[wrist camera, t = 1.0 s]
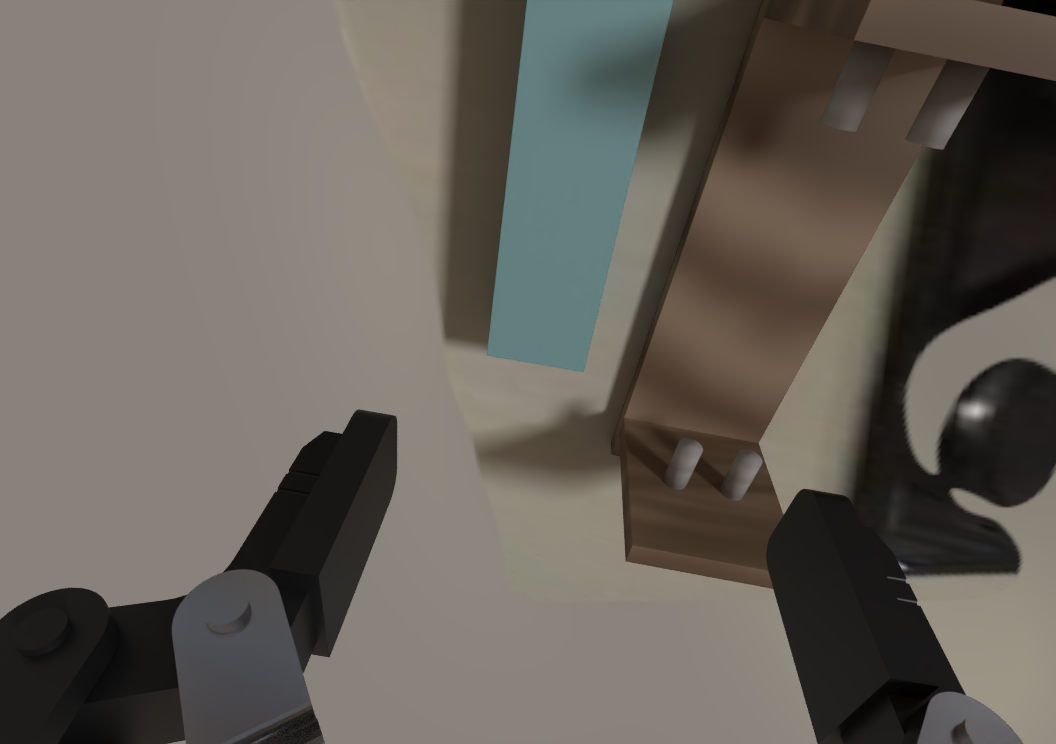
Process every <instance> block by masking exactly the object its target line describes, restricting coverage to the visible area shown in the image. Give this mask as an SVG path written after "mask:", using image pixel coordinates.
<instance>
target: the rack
mask: <svg viewBox="0 0 1056 744" xmlns="http://www.w3.org/2000/svg"><path fill="white" fill-rule="evenodd" d="M1002 2H1003V0H763V1H762V4H761V7H760V10H759V12H758V15H757V18H756V21H755V24H754V27H753V30H752V33H751V36H750V39H749V42H748V45H747V48H746V50H745V53H744V56H743V59H742V62H741V65H740V68H739V71H738V74H737V77H736V80H735V83H734V86H733V88H732V91H731V94H730V97H729V100H728V103H727V106H726V109H725V112H724V115H723V118H722V121H721V124H720V126H719V129H718V132H717V135H716V138H715V141H714V144H713V147H712V150H711V153H710V156H709V159H708V162H707V164H706V167H705V170H704V173H703V176H702V179H701V182H700V185H699V188H698V191H697V194H696V197H695V199H694V202H693V205H692V208H691V211H690V214H689V217H688V220H687V223H686V226H685V229H684V232H683V235H682V237H681V240H680V243H679V246H678V249H677V252H676V255H675V258H674V261H673V264H672V267H671V270H670V273H669V275H668V278H667V281H666V284H665V287H664V290H663V293H662V296H661V299H660V302H659V305H658V308H657V311H656V313H655V316H654V319H653V322H652V325H651V328H650V331H649V334H648V337H647V340H646V343H645V346H644V349H643V351H642V354H641V357H640V360H639V363H638V366H637V369H636V372H635V375H634V378H633V381H632V384H631V387H630V389H629V392H628V395H627V398H626V401H625V404H624V407H623V410H622V413H621V416H620V419H619V422H618V425H617V427H616V430H615V433H614V436H613V439H612V442H611V454H612V455H617V456H620V462H621V481H622V500H623V519H624V538H625V557H626V561H627V562H632V563H638V564H643V565H648V566H654V567H659V568H664V569H670V570H675V571H681V572H686V573H691V574H697V575H702V576H707V577H713V578H718V579H724V580H729V581H734V582H740V583H745V584H750V585H756V586H761V587H767V588H772V589H773V586H772V582H771V579H770V575H769V572H768V568H767V562H766V551H767V545H768V541H769V538H770V536H771V534H772V533H773V531H774V530H775V528H776V526H777V525H778V523H779V522H780V520H781V519H782V517H783V512H782V509H781V507H780V504H779V501H778V498H777V495H776V492H775V489H774V487H773V484H772V481H771V478H770V475H769V472H768V469H767V467H766V464H765V461H764V458H763V455H762V452H761V449H760V446H759V444H758V443H759V441H760V439H761V438H762V436H763V434H764V432H765V430H766V428H767V427H768V425H769V423H770V421H771V419H772V418H773V416H774V414H775V412H776V410H777V409H778V407H779V405H780V403H781V401H782V400H783V398H784V396H785V394H786V392H787V391H788V389H789V387H790V385H791V383H792V381H793V380H794V378H795V376H796V374H797V372H798V371H799V369H800V367H801V365H802V363H803V362H804V360H805V358H806V356H807V354H808V353H809V351H810V349H811V347H812V345H813V344H814V342H815V340H816V338H817V336H818V335H819V333H820V331H821V329H822V327H823V325H824V324H825V322H826V320H827V318H828V316H829V315H830V313H831V311H832V309H833V307H834V306H835V304H836V302H837V300H838V298H839V297H840V295H841V293H842V291H843V289H844V288H845V286H846V284H847V282H848V280H849V278H850V277H851V275H852V273H853V271H854V269H855V268H856V266H857V264H858V262H859V260H860V259H861V257H862V255H863V253H864V251H865V250H866V248H867V246H868V244H869V242H870V241H871V239H872V237H873V235H874V233H875V232H876V230H877V228H878V226H879V224H880V222H881V221H882V219H883V217H884V215H885V213H886V212H887V210H888V208H889V206H890V204H891V203H892V201H893V199H894V197H895V195H896V194H897V192H898V190H899V188H900V186H901V185H902V183H903V181H904V179H905V177H906V175H907V174H908V172H909V170H910V168H911V166H912V165H913V163H914V161H915V159H916V157H917V156H918V154H919V152H920V150H921V148H922V147H923V146H926V147H930V148H935V149H944V147H945V145H946V143H947V142H948V140H949V138H950V136H951V135H952V133H953V131H954V130H955V128H956V126H957V124H958V123H959V121H960V119H961V117H962V116H963V114H964V112H965V110H966V109H967V107H968V105H969V103H970V102H971V100H972V98H973V97H974V95H975V93H976V91H977V90H978V88H979V86H980V84H981V83H982V81H983V79H984V77H985V76H986V74H987V72H988V70H989V69H990V68H995V69H1000V70H1005V71H1010V72H1015V73H1020V74H1025V75H1030V76H1034V77H1039V78H1044V79H1049V80H1054V81H1056V17H1054V16H1049V15H1044V14H1040V13H1035V12H1030V11H1025V10H1020V9H1015V8H1010V7H1005V6H1001V4H1002Z"/></svg>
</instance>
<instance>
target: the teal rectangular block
mask: <svg viewBox="0 0 1056 744" xmlns="http://www.w3.org/2000/svg"><path fill="white" fill-rule="evenodd" d="M672 4H673V0H527V6H526V15H525V24H524V32H523V41H522V50H521V59H520V68H519V76H518V85H517V94H516V103H515V112H514V120H513V129H512V138H511V147H510V156H509V165H508V173H507V182H506V191H505V200H504V209H503V217H502V226H501V235H500V244H499V253H498V262H497V270H496V279H495V288H494V297H493V306H492V314H491V323H490V332H489V341H488V350H487V356H492V357H498V358H504V359H510V360H516V361H522V362H528V363H533V364H539V365H545V366H551V367H557V368H563V369H569V370H574V371H580V372H584V369H585V365H586V360H587V356H588V352H589V348H590V344H591V340H592V336H593V331H594V327H595V323H596V319H597V315H598V311H599V307H600V303H601V298H602V294H603V290H604V286H605V282H606V278H607V274H608V269H609V265H610V261H611V257H612V253H613V249H614V245H615V240H616V236H617V232H618V228H619V224H620V220H621V216H622V211H623V207H624V203H625V199H626V195H627V191H628V187H629V182H630V178H631V174H632V170H633V166H634V162H635V158H636V153H637V149H638V145H639V141H640V137H641V133H642V129H643V124H644V120H645V116H646V112H647V108H648V104H649V100H650V95H651V91H652V87H653V83H654V79H655V75H656V71H657V66H658V62H659V58H660V54H661V50H662V46H663V42H664V37H665V33H666V29H667V25H668V21H669V17H670V13H671V8H672Z"/></svg>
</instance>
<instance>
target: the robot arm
mask: <svg viewBox="0 0 1056 744" xmlns="http://www.w3.org/2000/svg"><path fill="white" fill-rule="evenodd" d="M396 474H397V418H396V416H393V415H388V414H382V413H376V412H370V411H365V410H357V411H356V412H355V413H354V414H353V416H352V417H351V419H350V421H349V423H348V425H347V427H346V429H345V430H344V432H343V434H340V433H333V432H328V431H324V432H323V433H321V434H320V435H319V436H317V437H316V438H315V439H313V440H312V441H311V442H309V443H308V444H307V445H305V446H304V447H303V448H302V449H301V451H300V453H299V454H298V456H297V458H296V459H295V461H294V462H293V464H292V466H291V467H290V469H289V473H288V474H286V475H285V477H284V478H283V480H282V482H281V483H280V485H279V487H278V491H277V492H275V493H274V495H273V496H272V498H271V499H270V501H269V503H268V504H267V506H266V508H265V509H264V511H263V513H262V514H261V516H260V517H259V519H258V521H257V522H256V524H255V525H254V527H253V529H252V530H251V532H250V534H249V535H248V537H247V538H246V540H245V542H244V543H243V545H242V547H241V548H240V550H239V551H238V553H237V555H236V556H235V558H234V560H233V561H232V562H231V564H230V565H229V566H228V568H227V569H226V570H225V571H224V572H223V573H220V574H218V575H215V576H213V577H211V578H209V579H207V580H206V581H204V582H202V583H201V584H199V585H198V586H196V587H195V588H194V589H193V590H192V591H191V592H190V593H189V594H187V595H185V596H182V597H178V598H175V599H169V600H163V601H156V602H148V603H140V604H133V605H125V606H117V607H110V608H109V607H108V606H107V604H106V602H105V601H104V599H103V598H102V597H101V596H100V595H98V594H97V593H96V592H93V591H91V590H87V589H83V588H65V589H59V590H54V591H50V592H47V593H44V594H41V595H39V596H37V597H34V598H32V599H30V600H28V601H26V602H24V603H22V604H21V605H19V606H17V607H16V608H14V609H13V610H12V611H10V612H9V613H7V614H6V615H5V616H4V617H3V618H1V620H0V744H168V743H172V742H178V741H183V740H186V744H325V742H324V739H323V736H322V732H321V729H320V726H319V723H318V720H317V718H316V717H315V714H314V711H313V707H312V704H311V701H310V697H309V693H308V691H307V687H306V683H305V680H304V676H303V672H304V670H305V668H306V666H307V663H308V661H309V658H310V656H311V654H313V655H319V656H325V657H330V655H331V652H332V650H333V647H334V644H335V642H336V639H337V637H338V634H339V632H340V629H341V626H342V624H343V621H344V619H345V616H346V613H347V611H348V608H349V606H350V603H351V601H352V598H353V596H354V593H355V590H356V588H357V585H358V583H359V580H360V578H361V575H362V573H363V570H364V567H365V565H366V562H367V560H368V557H369V554H370V552H371V549H372V547H373V544H374V542H375V539H376V536H377V534H378V531H379V529H380V526H381V524H382V521H383V518H384V516H385V513H386V511H387V508H388V506H389V503H390V500H391V497H392V494H393V490H394V486H395V481H396ZM766 562H767V568H768V572H769V575H770V579H771V582H772V586H773V589H774V593H775V596H776V600H777V603H778V607H779V610H780V613H781V617H782V621H783V624H784V627H785V631H786V635H787V638H788V641H789V645H790V649H791V652H792V656H793V659H794V662H795V666H796V669H797V673H798V677H799V680H800V683H801V687H802V690H803V694H804V697H805V701H806V704H807V708H808V711H809V715H810V718H811V722H812V725H813V729H814V732H815V736H816V739H817V743H818V744H1023V743H1022V741H1021V740H1020V738H1019V737H1018V736H1017V734H1016V733H1015V732H1014V731H1013V729H1012V728H1011V727H1010V726H1009V725H1008V724H1007V723H1006V722H1005V721H1004V720H1003V719H1002V718H1001V717H1000V716H998V715H997V714H996V713H995V712H994V711H992V710H991V709H990V708H988V707H987V706H985V705H984V704H982V703H981V702H979V701H977V700H975V699H973V698H971V697H969V696H966V694H965V692H964V690H963V689H962V687H961V685H960V683H959V681H958V679H957V677H956V675H955V673H954V671H953V669H952V667H951V665H950V663H949V661H948V659H947V657H946V655H945V654H944V652H943V650H942V648H941V646H940V644H939V642H938V640H937V638H936V636H935V634H934V632H933V630H932V628H931V626H930V624H929V622H928V620H927V618H926V616H925V614H924V613H923V611H922V608H921V606H918V605H917V601H918V600H917V598H916V597H915V595H914V593H913V591H912V589H911V587H910V585H909V584H907V583H906V577H905V575H904V573H903V571H902V569H901V567H900V565H899V563H898V561H897V559H896V557H895V555H894V553H893V552H892V551H891V550H890V548H889V547H888V546H887V545H886V544H885V543H884V542H883V541H882V540H881V539H880V537H879V536H878V535H877V534H876V533H875V532H874V531H873V530H872V529H871V528H870V527H864V526H862V523H861V521H860V519H859V517H858V515H857V513H856V511H855V509H854V507H853V505H852V503H851V501H850V500H849V499H848V498H847V497H846V496H843V495H838V494H832V493H827V492H821V491H815V490H809V489H802V490H801V491H799V492H798V494H797V495H796V496H795V498H794V500H793V501H792V503H791V504H790V506H789V507H788V509H787V511H786V512H785V514H784V515H783V517H782V519H781V520H780V522H779V523H778V525H777V526H776V528H775V530H774V531H773V533H772V534H771V536H770V538H769V541H768V545H767V551H766Z"/></svg>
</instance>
